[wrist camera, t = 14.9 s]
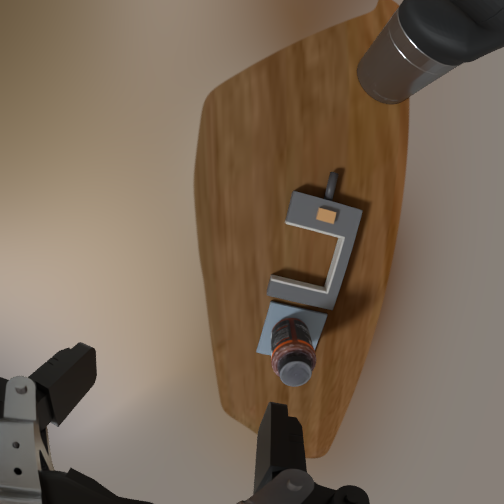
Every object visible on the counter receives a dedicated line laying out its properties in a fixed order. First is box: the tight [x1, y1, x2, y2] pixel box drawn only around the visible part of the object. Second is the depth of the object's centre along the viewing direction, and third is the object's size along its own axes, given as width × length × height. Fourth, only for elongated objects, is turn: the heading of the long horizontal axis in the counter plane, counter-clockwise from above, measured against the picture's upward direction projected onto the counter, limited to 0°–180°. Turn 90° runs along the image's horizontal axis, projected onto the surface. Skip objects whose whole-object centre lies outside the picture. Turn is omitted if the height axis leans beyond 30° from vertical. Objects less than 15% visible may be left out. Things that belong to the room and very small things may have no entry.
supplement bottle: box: [271, 318, 316, 386], centre depth 39 cm, size 6×6×11 cm
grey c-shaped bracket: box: [267, 172, 363, 310], centre depth 40 cm, size 19×10×3 cm, turn 166°
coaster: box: [256, 301, 327, 355], centre depth 44 cm, size 9×9×1 cm
